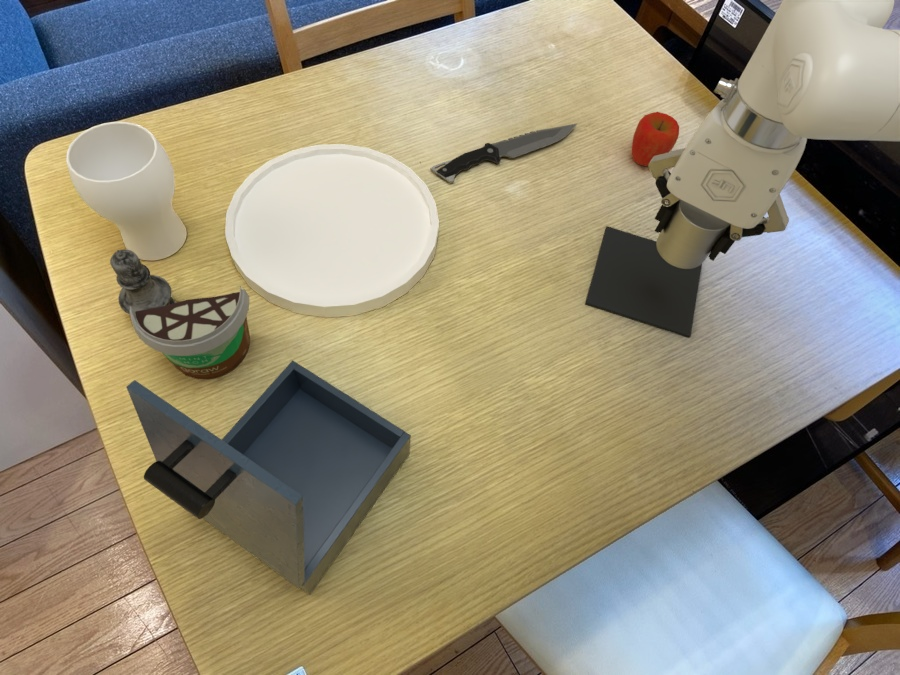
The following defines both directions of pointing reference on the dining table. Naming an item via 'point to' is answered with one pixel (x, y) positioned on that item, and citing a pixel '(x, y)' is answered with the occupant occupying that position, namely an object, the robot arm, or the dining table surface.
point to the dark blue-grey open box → (321, 457)
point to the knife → (502, 150)
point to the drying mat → (643, 284)
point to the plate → (332, 230)
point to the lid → (222, 486)
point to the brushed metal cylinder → (689, 236)
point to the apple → (654, 137)
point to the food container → (198, 333)
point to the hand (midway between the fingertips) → (688, 237)
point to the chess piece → (139, 283)
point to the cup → (128, 186)
